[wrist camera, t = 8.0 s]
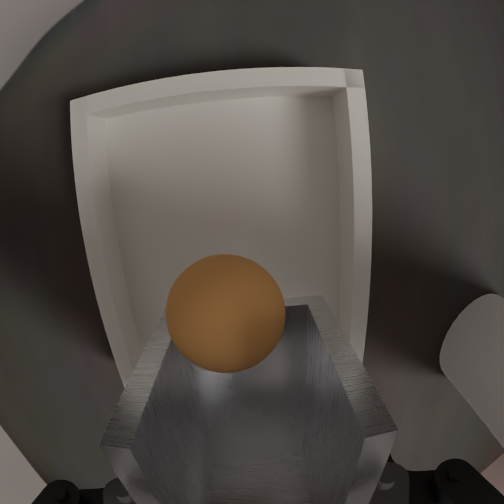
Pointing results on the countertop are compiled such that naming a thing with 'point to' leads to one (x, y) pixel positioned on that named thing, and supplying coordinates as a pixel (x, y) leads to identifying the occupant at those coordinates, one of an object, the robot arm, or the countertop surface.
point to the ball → (225, 313)
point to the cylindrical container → (479, 359)
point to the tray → (225, 190)
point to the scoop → (253, 422)
